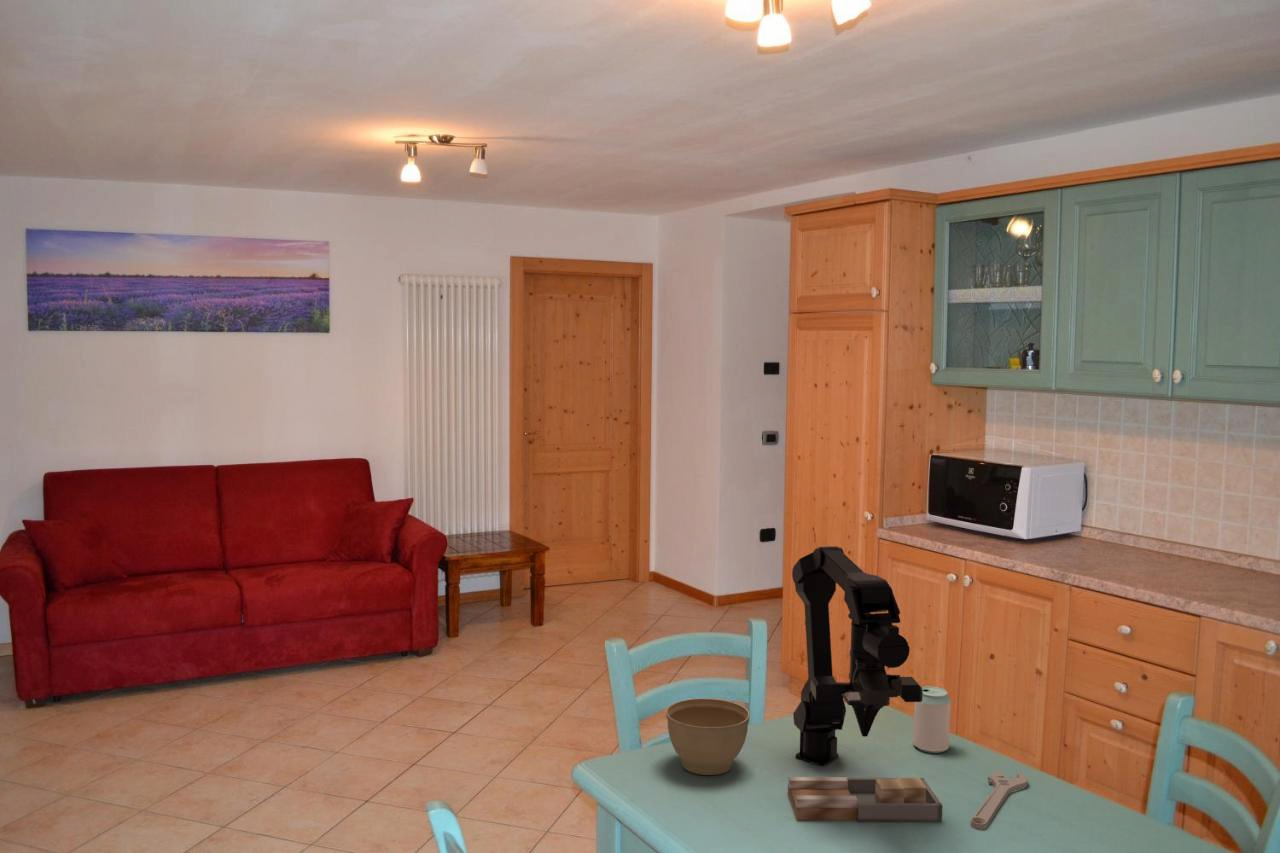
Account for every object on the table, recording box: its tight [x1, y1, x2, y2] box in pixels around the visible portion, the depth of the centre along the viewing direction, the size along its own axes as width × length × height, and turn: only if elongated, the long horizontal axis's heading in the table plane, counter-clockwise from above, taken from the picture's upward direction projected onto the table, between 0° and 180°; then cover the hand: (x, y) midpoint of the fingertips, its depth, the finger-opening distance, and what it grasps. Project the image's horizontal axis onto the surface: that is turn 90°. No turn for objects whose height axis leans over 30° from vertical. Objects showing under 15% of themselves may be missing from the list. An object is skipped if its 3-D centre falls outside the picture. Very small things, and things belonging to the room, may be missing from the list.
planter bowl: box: [665, 697, 751, 776], centre depth 193 cm, size 16×16×11 cm
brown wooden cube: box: [875, 779, 904, 803], centre depth 177 cm, size 4×4×4 cm
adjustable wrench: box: [970, 770, 1029, 831], centre depth 181 cm, size 25×6×2 cm, turn 141°
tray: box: [846, 777, 944, 823], centre depth 177 cm, size 14×11×3 cm
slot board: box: [787, 776, 858, 822], centre depth 177 cm, size 10×10×4 cm
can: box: [912, 686, 952, 754], centre depth 204 cm, size 7×7×12 cm
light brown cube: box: [896, 777, 926, 803], centre depth 177 cm, size 4×4×4 cm
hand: (864, 735), depth 177 cm, fingers closed
